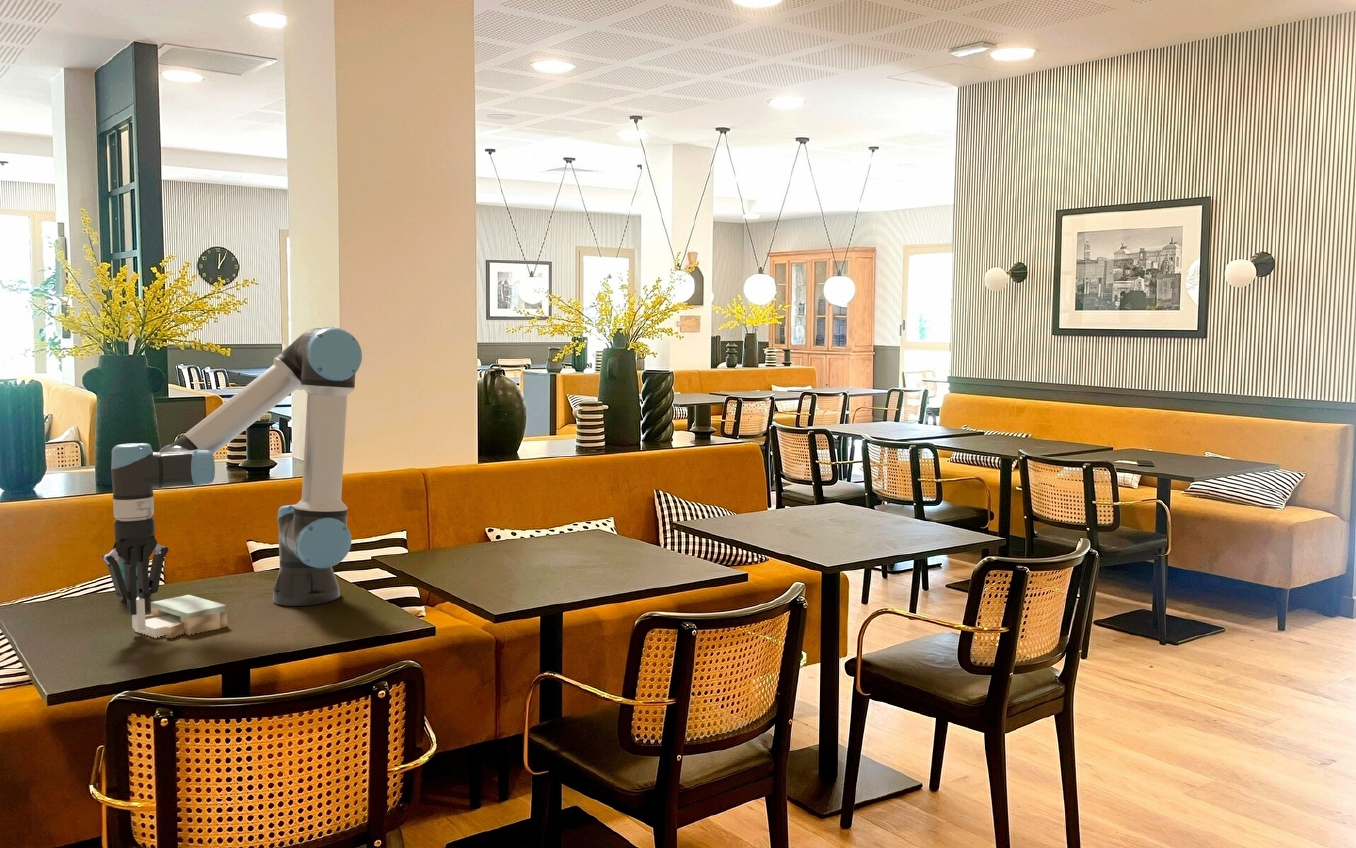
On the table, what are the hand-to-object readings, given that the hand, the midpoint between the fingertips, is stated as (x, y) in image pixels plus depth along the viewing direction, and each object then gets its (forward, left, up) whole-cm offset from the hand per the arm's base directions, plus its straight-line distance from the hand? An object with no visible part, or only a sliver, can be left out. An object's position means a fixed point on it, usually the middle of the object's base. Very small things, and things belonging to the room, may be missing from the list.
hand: (139, 628), depth 223 cm
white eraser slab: (-4, -6, -2) cm, 7 cm away
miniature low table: (-4, -8, -2) cm, 9 cm away
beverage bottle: (+22, -30, -2) cm, 38 cm away
